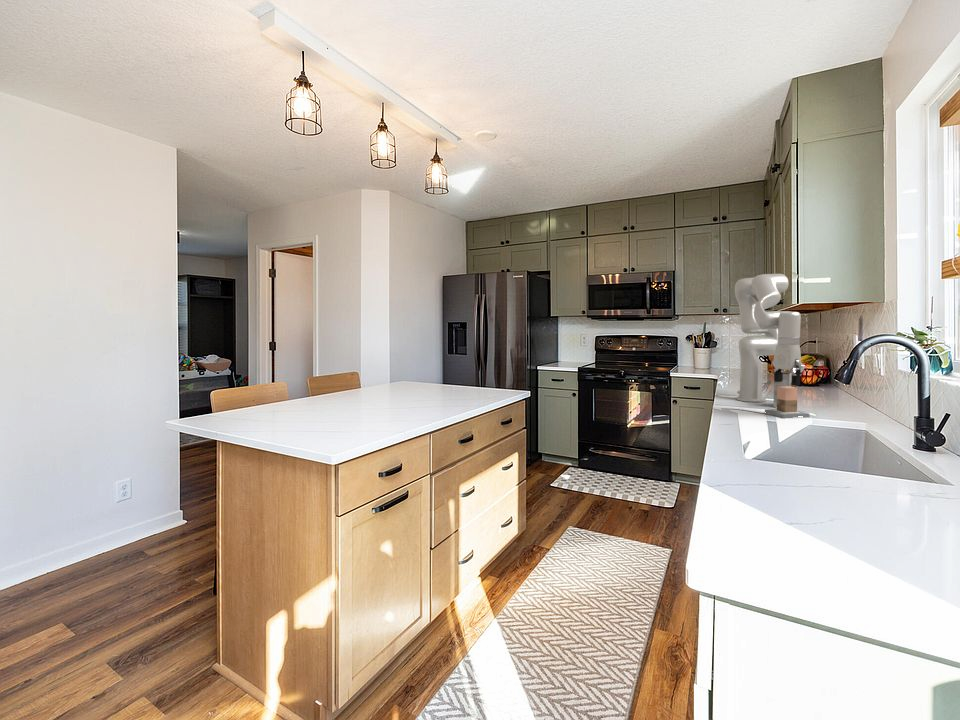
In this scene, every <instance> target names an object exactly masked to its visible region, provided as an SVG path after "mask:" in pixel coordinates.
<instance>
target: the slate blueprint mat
mask: <svg viewBox="0 0 960 720" xmlns="http://www.w3.org/2000/svg"><path fill="white" fill-rule="evenodd" d="M765 412H766V413H770V414H773V415H772V416H774V415H776V416H775V417H777V416H778V417H777V418H782V419H790V418H791V419H794V418H793V417H798V416H803V418H810V415H811V414H810V413H809V412H805V411H801V410H797V412H789V413H785V412H781V411H777V408H773V409H770V408H769V409H764V413H765ZM766 413H765V414H766ZM770 414H769V415H770Z"/></svg>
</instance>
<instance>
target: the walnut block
mask: <svg viewBox="0 0 960 720" xmlns="http://www.w3.org/2000/svg"><path fill="white" fill-rule="evenodd" d="M776 409H777V411H781V412H785V413H789V412H797V411H798V399H797V400H781V399H777V408H776Z"/></svg>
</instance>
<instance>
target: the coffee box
mask: <svg viewBox="0 0 960 720" xmlns="http://www.w3.org/2000/svg"><path fill="white" fill-rule="evenodd" d="M782 372H783V381H782V382H775V381H774V379H775V372H774V371H773V408H775V407H777V387H784V386H790V387H795V388H797V385H791V382H792V375H793V374H792V372H791V370H782ZM795 372H796V371H795Z"/></svg>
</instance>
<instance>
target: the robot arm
mask: <svg viewBox="0 0 960 720" xmlns="http://www.w3.org/2000/svg"><path fill="white" fill-rule="evenodd" d="M789 283H790V282H789V278H788V276H786V275H785V274H783V273H763V274H759V275H758V274H757V275H756V276H754V277H744V278H740V279H738V280H737V281H736V283H735V284H734V296H735V299H736V302H737V303H738V307H739V308H738V309H739V318H740V319H739V320H740V329H741V332H742V333H743V334H748V335H749V334H750V335H749V336H748V335H747V336H744V337H742V338H740V339H739V341H738V349H739V350H738V351H739V357H740V358H739V359H740V360H739V361H740V366H739V367H740V368H739V369H740V372H739V376H740V377H739V381H740V383H739V384H740V385H739V389H738V390H737V391H736V392H737V394H738V396H736V400H737V401H739V402H746V403H747V402H749V403H764V402H766V401H767V398H765V397H763V381H764V380H763V378H764V375H763V373H764V371H763V370H764V365H763V362H762V361H761V360H760V358H759V357H760V356H762V357H763V356H773V360H772V361H771V365H772V368H773V373H774V372H775V379H774V378H773V382H774V381H775V382H782V381H783V372H782V371H791V372H792V374H793V375H792V382H791V385H796V386H800V385H801V376H802V375H803V373H804V370H805V368H806V365H805V364H804V363H803V362H802V355H801V354H802V353H801V351H802V350H801V347H800V341H801V340H800V339H801V319H802V318H801V317H802V316H801V313H800V312H798V311H789V310H784V311H783V310H782V311H779V310H778V311H776V310H775V311H771V310H770V311H766V309H770V308H772V307H774V306H776V305H778V303H779V302H781V298H782V295H781V293H785V292H786V291H787V290H788V288H789ZM753 296H756V298H757V300H756V299H755V298H754V297H753ZM756 334H757V335H756ZM759 334H762V335H759ZM795 371H796V372H795Z"/></svg>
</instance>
